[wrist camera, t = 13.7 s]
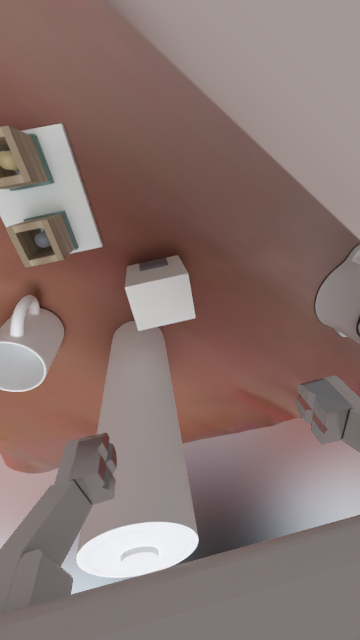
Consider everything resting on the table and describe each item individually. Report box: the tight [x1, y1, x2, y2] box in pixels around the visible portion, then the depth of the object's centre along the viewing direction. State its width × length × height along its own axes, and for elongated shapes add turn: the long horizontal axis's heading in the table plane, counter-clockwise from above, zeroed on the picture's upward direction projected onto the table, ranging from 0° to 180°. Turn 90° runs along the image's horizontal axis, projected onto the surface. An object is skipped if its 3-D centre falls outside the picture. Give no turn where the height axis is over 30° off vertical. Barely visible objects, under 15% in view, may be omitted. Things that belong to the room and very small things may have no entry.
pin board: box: [0, 124, 103, 254], centre depth 29 cm, size 11×14×6 cm
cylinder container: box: [76, 321, 198, 578], centre depth 32 cm, size 9×9×30 cm
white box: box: [125, 255, 196, 331], centre depth 36 cm, size 8×7×9 cm
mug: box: [0, 295, 64, 392], centre depth 35 cm, size 12×8×10 cm
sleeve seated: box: [5, 211, 79, 268], centre depth 30 cm, size 5×5×7 cm
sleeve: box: [0, 126, 54, 191], centre depth 26 cm, size 5×5×7 cm
